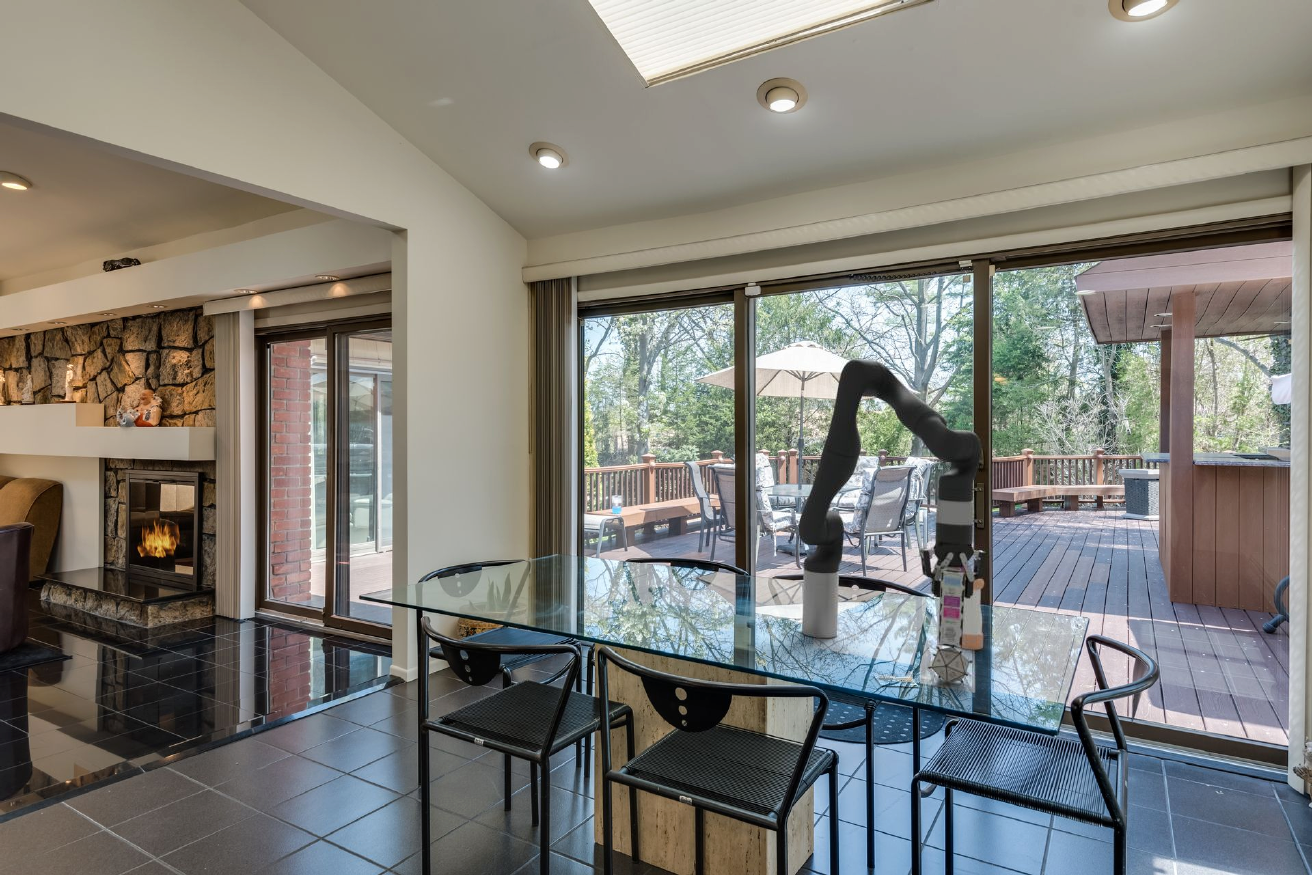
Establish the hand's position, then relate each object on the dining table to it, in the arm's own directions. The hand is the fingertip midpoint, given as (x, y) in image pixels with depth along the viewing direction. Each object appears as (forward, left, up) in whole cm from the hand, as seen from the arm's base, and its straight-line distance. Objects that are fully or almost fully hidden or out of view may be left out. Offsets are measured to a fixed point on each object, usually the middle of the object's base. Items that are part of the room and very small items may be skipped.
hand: (951, 596), depth 159 cm
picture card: (+1, -12, -19) cm, 22 cm away
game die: (0, 0, -19) cm, 19 cm away
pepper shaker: (-29, +15, -19) cm, 38 cm away
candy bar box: (0, 0, -10) cm, 10 cm away
